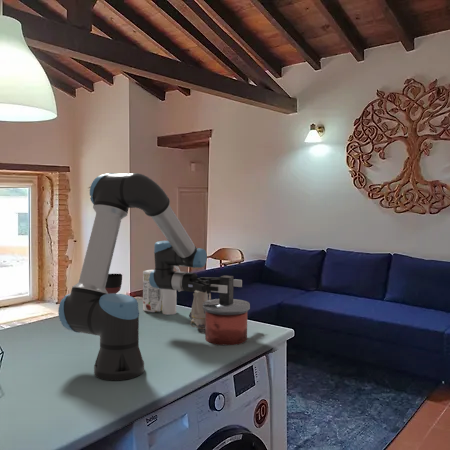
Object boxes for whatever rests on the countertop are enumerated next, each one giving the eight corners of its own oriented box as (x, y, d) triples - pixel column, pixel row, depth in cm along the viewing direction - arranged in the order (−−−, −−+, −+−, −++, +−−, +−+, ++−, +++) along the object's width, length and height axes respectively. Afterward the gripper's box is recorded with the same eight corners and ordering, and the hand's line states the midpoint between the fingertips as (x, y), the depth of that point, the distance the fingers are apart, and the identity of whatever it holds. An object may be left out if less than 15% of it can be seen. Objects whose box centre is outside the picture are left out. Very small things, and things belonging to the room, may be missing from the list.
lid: (238, 315, 169) (238, 282, 169) (194, 310, 177) (194, 278, 176) (256, 305, 186) (257, 275, 185) (215, 300, 193) (215, 271, 193)
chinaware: (207, 336, 190) (212, 296, 188) (172, 327, 197) (176, 288, 195) (236, 320, 215) (240, 285, 213) (204, 312, 222) (208, 278, 220)
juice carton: (154, 313, 220) (154, 272, 219) (140, 310, 225) (140, 270, 224) (165, 310, 227) (165, 270, 226) (151, 307, 231) (151, 268, 230)
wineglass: (100, 319, 208) (100, 274, 207) (120, 317, 212) (120, 273, 210) (103, 324, 201) (103, 277, 200) (124, 322, 204) (124, 275, 203)
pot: (237, 347, 171) (237, 315, 170) (196, 341, 178) (197, 309, 177) (263, 329, 195) (263, 300, 194) (226, 324, 202) (226, 296, 201)
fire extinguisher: (155, 310, 225) (156, 258, 223) (180, 311, 225) (182, 259, 223) (153, 314, 218) (154, 260, 216) (179, 315, 218) (181, 261, 216)
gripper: (200, 285, 200) (247, 290, 191) (168, 296, 177) (220, 302, 168) (200, 268, 200) (247, 272, 191) (168, 276, 177) (220, 281, 168)
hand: (234, 286), depth 180 cm, fingers open, 13 cm apart
